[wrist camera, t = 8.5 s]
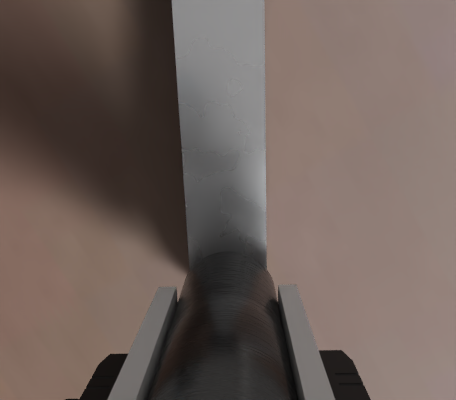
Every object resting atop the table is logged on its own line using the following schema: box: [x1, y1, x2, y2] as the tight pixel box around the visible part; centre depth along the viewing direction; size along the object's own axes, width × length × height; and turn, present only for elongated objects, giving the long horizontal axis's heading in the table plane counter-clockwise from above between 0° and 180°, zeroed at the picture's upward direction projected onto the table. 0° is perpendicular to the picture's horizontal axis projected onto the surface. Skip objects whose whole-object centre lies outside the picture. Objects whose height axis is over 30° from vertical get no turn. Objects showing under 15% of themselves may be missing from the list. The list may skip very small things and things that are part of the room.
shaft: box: [147, 0, 298, 400], centre depth 11 cm, size 26×4×14 cm, turn 2°
